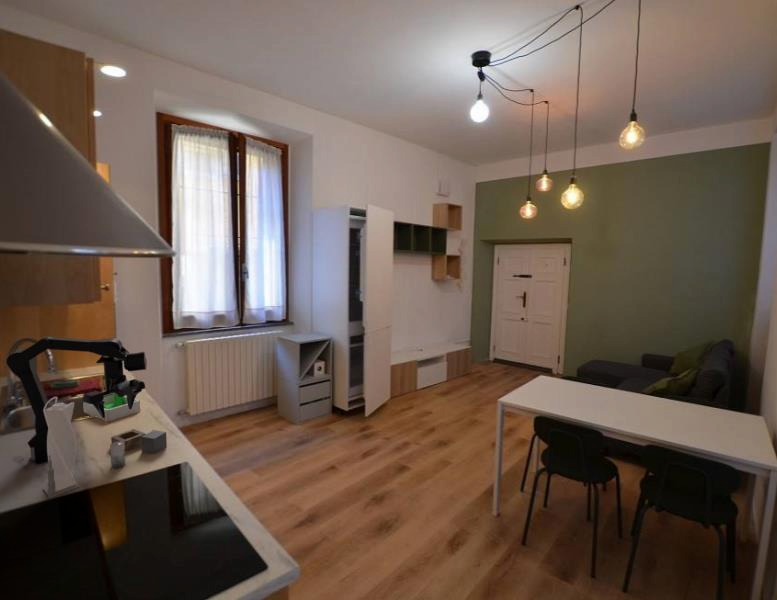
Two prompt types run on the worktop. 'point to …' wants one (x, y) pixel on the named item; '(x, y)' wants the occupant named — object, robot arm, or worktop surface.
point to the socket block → (129, 439)
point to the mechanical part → (117, 402)
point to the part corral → (112, 409)
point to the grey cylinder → (117, 454)
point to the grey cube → (154, 442)
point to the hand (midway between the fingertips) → (117, 413)
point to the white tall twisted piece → (60, 448)
